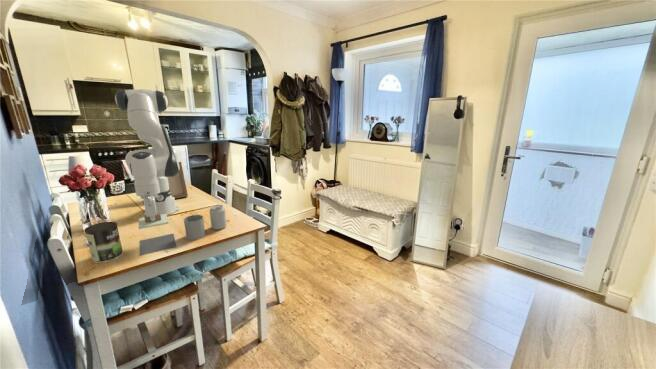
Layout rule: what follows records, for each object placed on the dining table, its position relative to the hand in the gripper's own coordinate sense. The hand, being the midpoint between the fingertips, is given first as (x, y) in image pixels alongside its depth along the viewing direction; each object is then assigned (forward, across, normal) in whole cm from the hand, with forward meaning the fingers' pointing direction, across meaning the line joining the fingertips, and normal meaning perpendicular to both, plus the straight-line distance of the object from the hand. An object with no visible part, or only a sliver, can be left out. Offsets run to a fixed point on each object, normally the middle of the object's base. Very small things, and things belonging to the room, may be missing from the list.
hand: (153, 218), depth 119 cm
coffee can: (+13, -2, +18) cm, 22 cm away
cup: (+13, -2, -16) cm, 21 cm away
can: (+13, +3, -28) cm, 31 cm away
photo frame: (+15, +72, -9) cm, 74 cm away
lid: (+2, 0, 0) cm, 2 cm away
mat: (+13, -1, 0) cm, 13 cm away
